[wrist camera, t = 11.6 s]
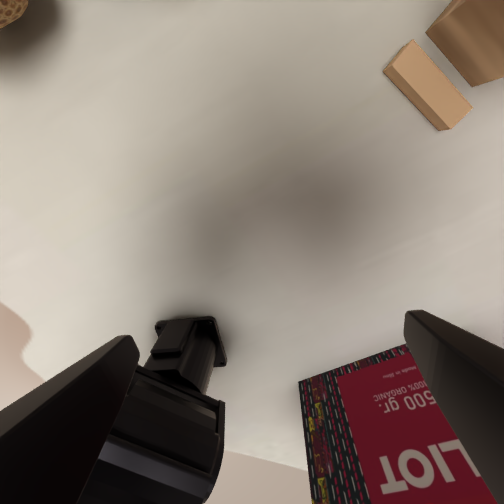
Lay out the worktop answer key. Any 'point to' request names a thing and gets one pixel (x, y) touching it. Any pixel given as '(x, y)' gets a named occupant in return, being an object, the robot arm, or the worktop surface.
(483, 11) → the cabinet block
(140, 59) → the worktop surface
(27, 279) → the worktop surface
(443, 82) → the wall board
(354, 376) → the box
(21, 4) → the natural sponge
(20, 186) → the worktop surface
